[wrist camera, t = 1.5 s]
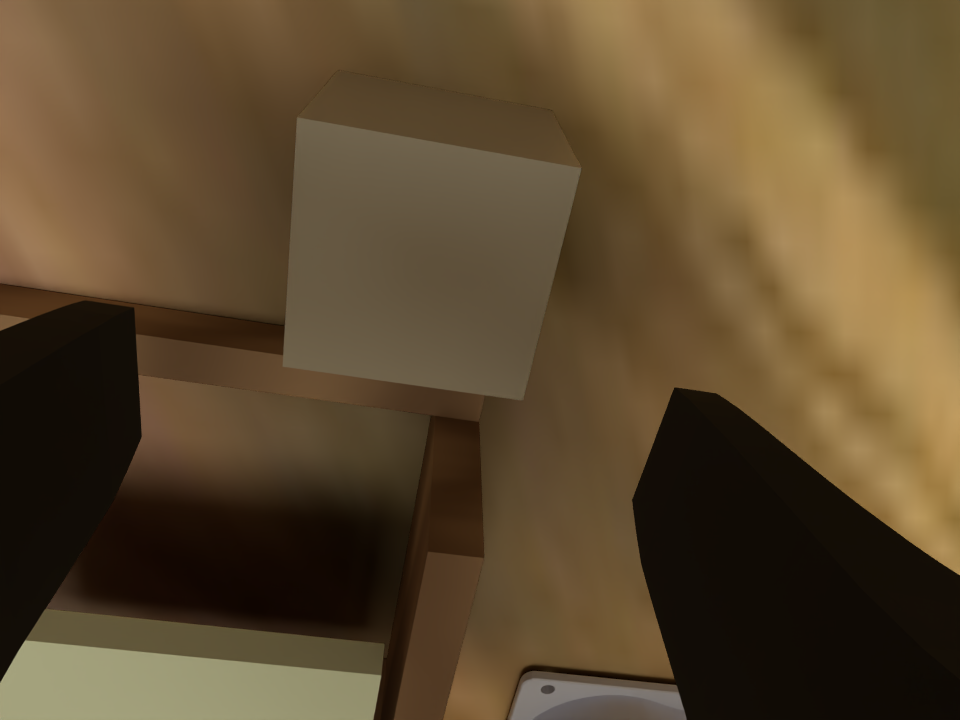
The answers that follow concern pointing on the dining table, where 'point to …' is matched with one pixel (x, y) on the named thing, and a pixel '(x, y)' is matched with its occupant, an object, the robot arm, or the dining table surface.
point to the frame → (259, 367)
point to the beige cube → (424, 235)
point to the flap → (185, 672)
